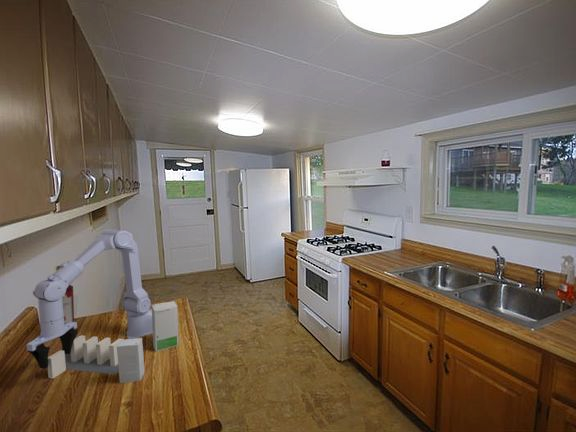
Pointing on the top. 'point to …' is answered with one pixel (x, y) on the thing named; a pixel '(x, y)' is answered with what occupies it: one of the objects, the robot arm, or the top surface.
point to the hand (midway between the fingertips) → (55, 360)
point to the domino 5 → (114, 352)
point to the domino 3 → (90, 349)
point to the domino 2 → (77, 348)
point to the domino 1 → (56, 364)
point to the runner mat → (90, 366)
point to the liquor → (68, 304)
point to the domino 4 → (103, 351)
